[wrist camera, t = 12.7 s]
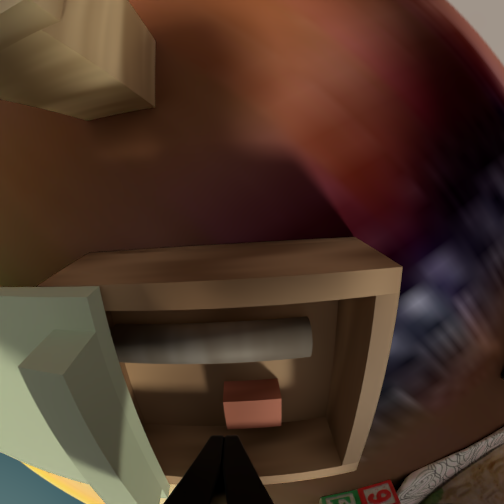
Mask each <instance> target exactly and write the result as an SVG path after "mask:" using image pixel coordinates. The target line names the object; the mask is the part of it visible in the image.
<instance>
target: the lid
mask: <svg viewBox="0 0 504 504" xmlns="http://www.w3.org/2000/svg"><path fill="white" fill-rule="evenodd" d="M0 452H2V453H4V454H6V455H8V456H10V457H12V458H14V459H17V460H19V461H21V462H24V463H26V464H29V465H31V466H34V467H36V468H39V469H42V470H44V471H47V472H50V473H53V474H56V475H59V476H62V477H65V478H68V479H72V480H75V481H78V482H82V483H86V484H90V486H91V487H92V488H93V489H94V491H95V492H96V493H97V494H98V495H99V496H100V498H101V499H102V500H103V501H104V502H105V503H106V504H159V502H160V498H168V494H169V488H170V485H169V483H168V481H167V479H166V477H165V475H164V473H163V471H162V469H161V467H160V465H159V463H158V461H157V459H156V456H155V454H154V452H153V450H152V448H151V445H150V443H149V441H148V439H147V436H146V434H145V432H144V429H143V427H142V424H141V422H140V420H139V417H138V415H137V412H136V409H135V407H134V404H133V401H132V399H131V396H130V393H129V390H128V388H127V385H126V382H125V379H124V376H123V373H122V370H121V367H120V364H119V360H118V357H117V354H116V351H115V347H114V344H113V340H112V337H111V333H110V329H109V326H108V322H107V318H106V314H105V310H104V305H103V301H102V297H101V292H100V288H99V286H81V287H0Z"/></svg>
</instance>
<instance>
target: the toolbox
mask: <svg viewBox="0 0 504 504" xmlns="http://www.w3.org/2000/svg"><path fill="white" fill-rule="evenodd" d="M401 276H402V266H400V265H399V264H397V263H396V262H394V261H393V260H391V259H389V258H388V257H386V256H385V255H383V254H382V253H380V252H378V251H377V250H375V249H373V248H372V247H370V246H369V245H367V244H365V243H364V242H362V241H360V240H359V239H357V238H355V237H342V238H322V239H303V240H284V241H266V242H248V243H231V244H214V245H198V246H181V247H166V248H150V249H135V250H120V251H105V252H91V253H88V254H86V255H85V256H83V257H81V258H80V259H78V260H76V261H75V262H73V263H72V264H70V265H68V266H67V267H65V268H64V269H62V270H61V271H59V272H57V273H56V274H54V275H53V276H51V277H50V278H48V279H47V280H45V281H44V282H42V283H41V284H39V285H38V286H37V287H81V286H99V288H100V292H101V297H102V301H103V305H104V310H105V314H106V318H107V322H108V326H109V329H110V333H111V337H112V340H113V344H114V347H115V351H116V354H117V357H118V360H119V364H120V367H121V370H122V373H123V376H124V379H125V382H126V385H127V388H128V390H129V393H130V396H131V399H132V401H133V404H134V407H135V409H136V412H137V415H138V417H139V420H140V422H141V424H142V427H143V429H144V432H145V434H146V436H147V439H148V441H149V443H150V445H151V448H152V450H153V452H154V454H155V456H156V459H157V461H158V463H159V465H160V467H161V469H162V471H163V473H164V475H165V477H166V479H167V481H168V483H169V484H178V483H179V481H180V480H181V479H182V477H183V476H184V474H185V473H186V472H187V470H188V469H189V467H190V466H191V464H192V463H193V461H194V460H195V458H196V457H197V456H198V454H199V453H200V451H201V450H202V448H203V447H204V445H205V444H206V442H207V441H208V439H209V438H210V436H212V435H223V436H224V437H225V436H226V435H238V436H239V438H240V440H241V442H242V444H243V446H244V448H245V450H246V452H247V454H248V456H249V458H250V460H251V462H252V464H253V466H254V468H255V470H256V472H257V474H258V476H259V478H260V479H261V481H262V483H263V485H266V484H278V483H287V482H296V481H303V480H310V479H316V478H322V477H328V476H333V475H338V474H343V473H348V472H352V471H356V469H357V466H358V463H359V460H360V458H361V455H362V452H363V449H364V446H365V443H366V440H367V437H368V434H369V431H370V428H371V424H372V421H373V418H374V414H375V411H376V407H377V404H378V400H379V396H380V392H381V388H382V384H383V380H384V376H385V372H386V367H387V363H388V358H389V353H390V348H391V343H392V338H393V332H394V326H395V321H396V314H397V308H398V301H399V293H400V285H401Z"/></svg>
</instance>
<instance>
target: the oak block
mask: <svg viewBox="0 0 504 504" xmlns="http://www.w3.org/2000/svg"><path fill="white" fill-rule="evenodd" d="M155 51H156V41H155V39H154V38H153V36H152V35H151V33H150V32H149V30H148V29H147V27H146V26H145V25H144V23H143V22H142V20H141V19H140V17H139V16H138V14H137V13H136V11H135V10H134V8H133V7H132V6H131V4H130V3H129V1H128V0H0V99H1V100H6V101H10V102H15V103H19V104H24V105H28V106H32V107H37V108H41V109H45V110H49V111H53V112H57V113H60V114H64V115H68V116H72V117H75V118H79V119H83V120H86V121H89V120H93V119H98V118H102V117H106V116H111V115H116V114H120V113H125V112H131V111H136V110H142V109H148V108H154V107H155Z"/></svg>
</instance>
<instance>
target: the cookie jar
mask: <svg viewBox="0 0 504 504" xmlns="http://www.w3.org/2000/svg"><path fill="white" fill-rule="evenodd" d="M396 494H397V496H398V498H399V500H400V502H401V504H504V427H503V428H501V429H499V430H498V431H496V432H494V433H493V434H491V435H489V436H488V437H486V438H484V439H482V440H481V441H479V442H477V443H475V444H473V445H471V446H469V447H468V448H466V449H464V450H461V451H459V452H457V453H454V454H452V455H450V456H448V457H445V458H443V459H441V460H438V461H436V462H434V463H431V464H429V465H427V466H425V467H422V468H420V469H418V470H416V471H414V472H412V473H411V474H410V475H409V476H408V477H406V478H405V480H404V482H403V483H402V485H401V487H400V488H399V489H398V491H397V492H396Z"/></svg>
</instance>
